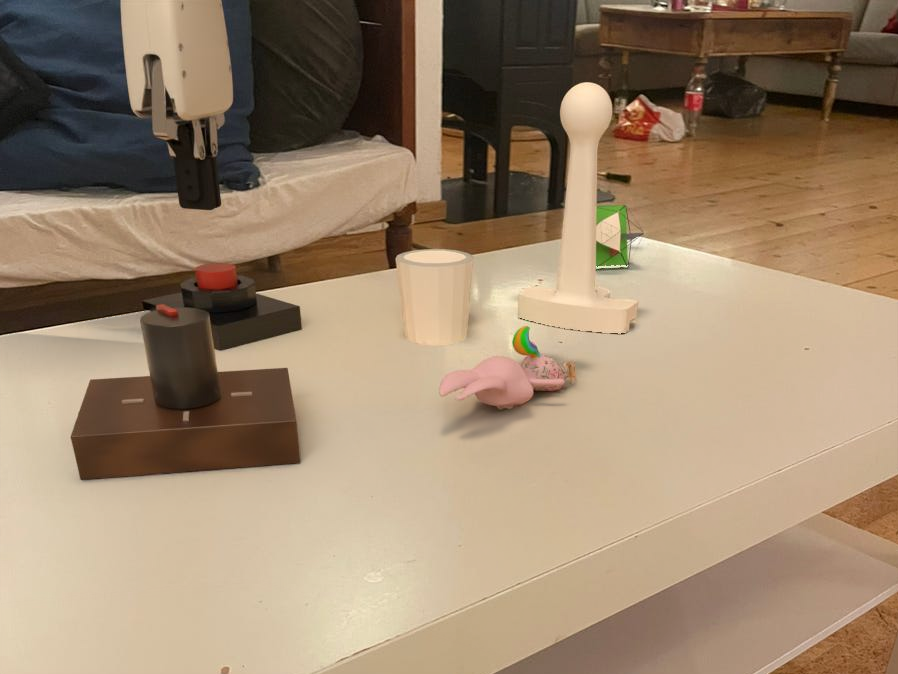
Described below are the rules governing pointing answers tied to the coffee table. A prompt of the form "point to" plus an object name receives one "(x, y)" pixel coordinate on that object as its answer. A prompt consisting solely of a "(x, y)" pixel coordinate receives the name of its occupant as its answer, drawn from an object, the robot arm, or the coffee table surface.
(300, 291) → the coffee table surface
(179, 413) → the panel
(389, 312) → the coffee table surface
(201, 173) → the robot arm
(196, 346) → the dial
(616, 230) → the geometric puzzle
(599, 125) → the joystick
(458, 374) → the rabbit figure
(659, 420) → the coffee table surface
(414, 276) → the shot glass
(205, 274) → the button
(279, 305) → the button box
